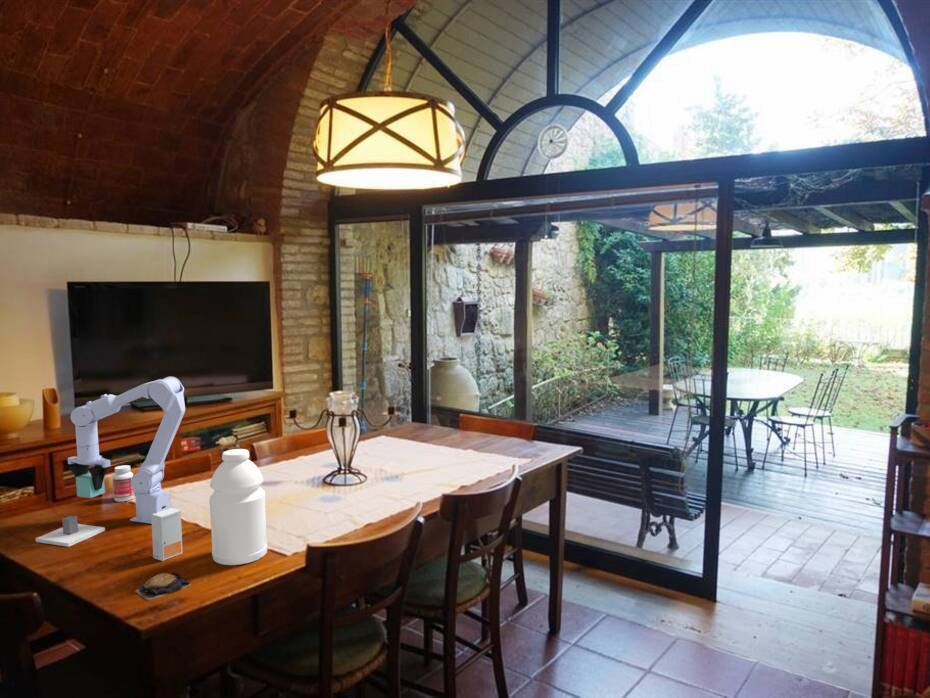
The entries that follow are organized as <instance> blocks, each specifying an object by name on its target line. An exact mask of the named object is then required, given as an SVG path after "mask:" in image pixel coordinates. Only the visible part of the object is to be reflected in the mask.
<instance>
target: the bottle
mask: <svg viewBox="0 0 930 698" xmlns="http://www.w3.org/2000/svg"><path fill="white" fill-rule="evenodd" d="M249 458H250V451H249V450H248V449H245V448H233V449H228V450H224V451H223V452H222V456H221V460H222V463H220V464H219V465H218V467H217V468H216V469H215V471H214V472H213V474H212V477H211V480H210V483H209V487H210V488H211V489H212V490H213V493H211V495H210V496H209V503H208V504H209V512H210V513H209V514H210V531H211V534H210V535H211V546H212V547H211V549H212V550H211V554H212V559H213V561H214V562H216V563H217V564H220V565H224V566H237V565H238V566H239V565H245V564H250V563H252V562H255V561H259V560H260V559H261V558H263V557H264V556H266V554H267V553H268V541H267V540H268V538H267V536H268V535H267V514H266V491H265V490H264V489H263V488H262V487H261V485H262V484H263V483H264V476H263V474H262V472H261V470H260V469H259V467H258V466H257V464H255V462H253V460H252V461H251V460H250V459H249Z"/></svg>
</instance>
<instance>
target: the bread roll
mask: <svg viewBox="0 0 930 698" xmlns="http://www.w3.org/2000/svg"><path fill="white" fill-rule="evenodd" d="M190 586H191V582H190V581H187V579H186V578H184V577H183V576H181V575H180V574H179V573H176V572H174V571H173V572H171V573H166V572H164V573H159V574H156V575H154V576H153V577H151V578H149V579H148V580H147V581H146V582H144V583H143V584H141V585H140V588H138V589H136V590H135V591H134V593H136V594H138V595H139V596H140V597H142V598H143V599H145V600H146V601H147V602H149V601H152V600H156V599H158V598H161V597H164V596H166V595H167V596H168V595H169V594H172V593H175V592H178V591H180V590H182V589H185V588H187V587H190Z"/></svg>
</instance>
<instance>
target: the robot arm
mask: <svg viewBox="0 0 930 698" xmlns="http://www.w3.org/2000/svg"><path fill="white" fill-rule="evenodd" d="M184 393H185V387H184V386H183V384H182V382H181V381H180V380H179V379H178V378H177V377H175V376H166V377H164V378H163V379H162V378H160V379H156V380H153V381H149V382H146V383H143V384H140V385H138V386H136V387H134V388H132V389H129V390H127V391H125V392H122V393H121V394H119V395H114V394H107V393H105V394H101V395H100V398H98V399H95V400H93V401H92V400H90V401H87V402H86V403H85V405H82V406H78V407H76V408H74V409H73V410H72V411H71V413H70V420H71V422H72V423H73V425H75V427H74V428H75V429H74V430H75V439H76V441H75V442H76V454H77V456H70V457H67V464H68V465H72V466H69V471H70V472H71V473H72V475H73V476H74V477H75V479H76V477H78V476H81V475H84V474H87V473H90V474H91V476H92V480H93V486H94V490H99V489H101V488H102V484H103V480H104V481H105V476H106V474H107V472H108V469H109V468H110V467H111V459H107V458H104V457H103V455H100V447H99V445H100V443H99V432H98V431H99V430H98V421H99V420H101V419H104V418H106V417H108V416H112V415H114V414H116V413H118V412H120V410H121V408H122V406H123V405H125V404H128V403H130V402H133V401H135V400H138V399H141V398H145V399H148V400H149V399H152V400H153V401H154V402H155V403H156V405H159V406H160V408H161V409H162V411H163V412H164V414H163V417H162V420H161V422H160V425H159V427H158V429H157V431H156V434H155V436H154V438H153V441H152V443H151V445H150V448H149V450H148V453H147V455H146V458H145V460H144V461H143V462H142V463H141V464H140V466H139V468H138V471H137V472H136V473H134V474H133V477H132V478H131V487H132V489H133V490H134V494H135V497H134V499H135V509H136V510H135V511H136V515H135V516H134V517H132V518H130V519H129V521H130V522H136V523H144V524H151V525H152V519H151V515H152V514H154V513H158V512H160V511H163V510H167V509H170V508H172V506H171V505H172V503H171V496H170V495H171V494H170V493H169V492H167V491H164V489H163V488H162V484H161V482H162V481H163V479H164V476H165V471H164V470H165V467H166V464H165V460H166V459H167V455H168V453H169V452H170V449H171V445H172V443H173V441H174V439H175V436H176V434H177V431H178V430H179V427H180V424H181V422H182V421H183V420H182V419H183V417H184V414H185V412H186V405H185V404H186V403H185V395H184ZM91 466H92V467H91Z"/></svg>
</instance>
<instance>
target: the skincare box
mask: <svg viewBox="0 0 930 698" xmlns="http://www.w3.org/2000/svg"><path fill="white" fill-rule="evenodd" d="M181 512H182V511H181V510H180V509H176V508H173V507H171V508H170V509H167V510H163V511H160V512H158V513H154V514H152V515H151V519H152V524H151V534H152V536H151V537H152V540H151V541H152V558H153V559H155V560H158V561H161V562H164V561H166V560H170V559H172V558H175V557H177V556H179V555H182V554H183V531H182V513H181Z"/></svg>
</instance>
